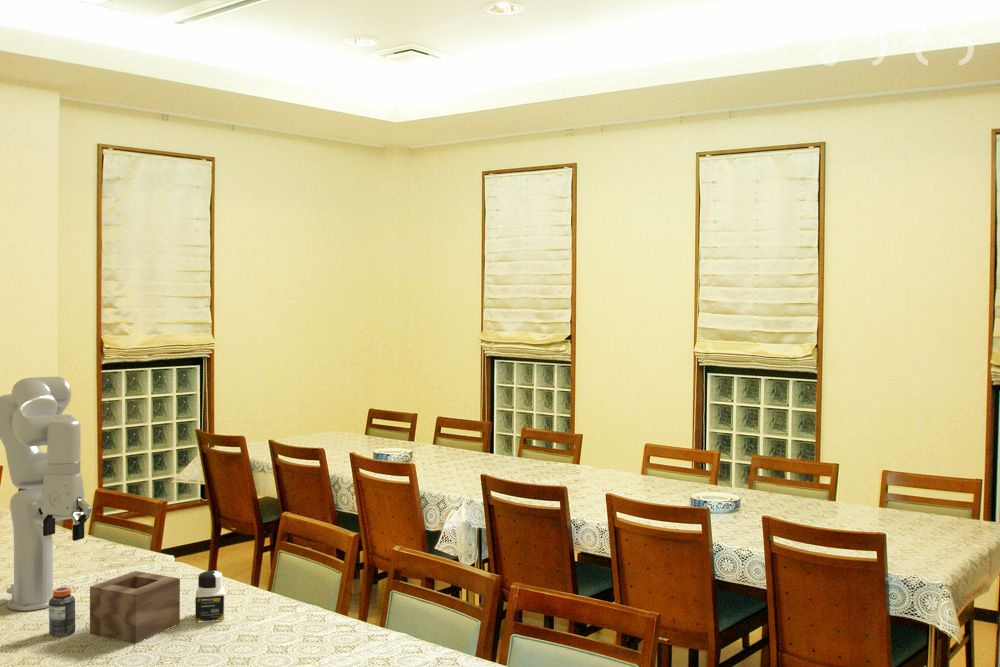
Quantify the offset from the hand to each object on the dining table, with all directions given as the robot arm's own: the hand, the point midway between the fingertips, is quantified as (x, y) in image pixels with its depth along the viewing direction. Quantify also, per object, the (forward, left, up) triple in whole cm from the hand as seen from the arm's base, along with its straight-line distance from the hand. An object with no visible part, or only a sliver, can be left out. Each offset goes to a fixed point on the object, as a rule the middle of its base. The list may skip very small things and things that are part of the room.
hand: (63, 537), depth 232 cm
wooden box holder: (+14, +10, -24) cm, 29 cm away
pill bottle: (0, 0, -24) cm, 24 cm away
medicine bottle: (+25, +25, -24) cm, 43 cm away
